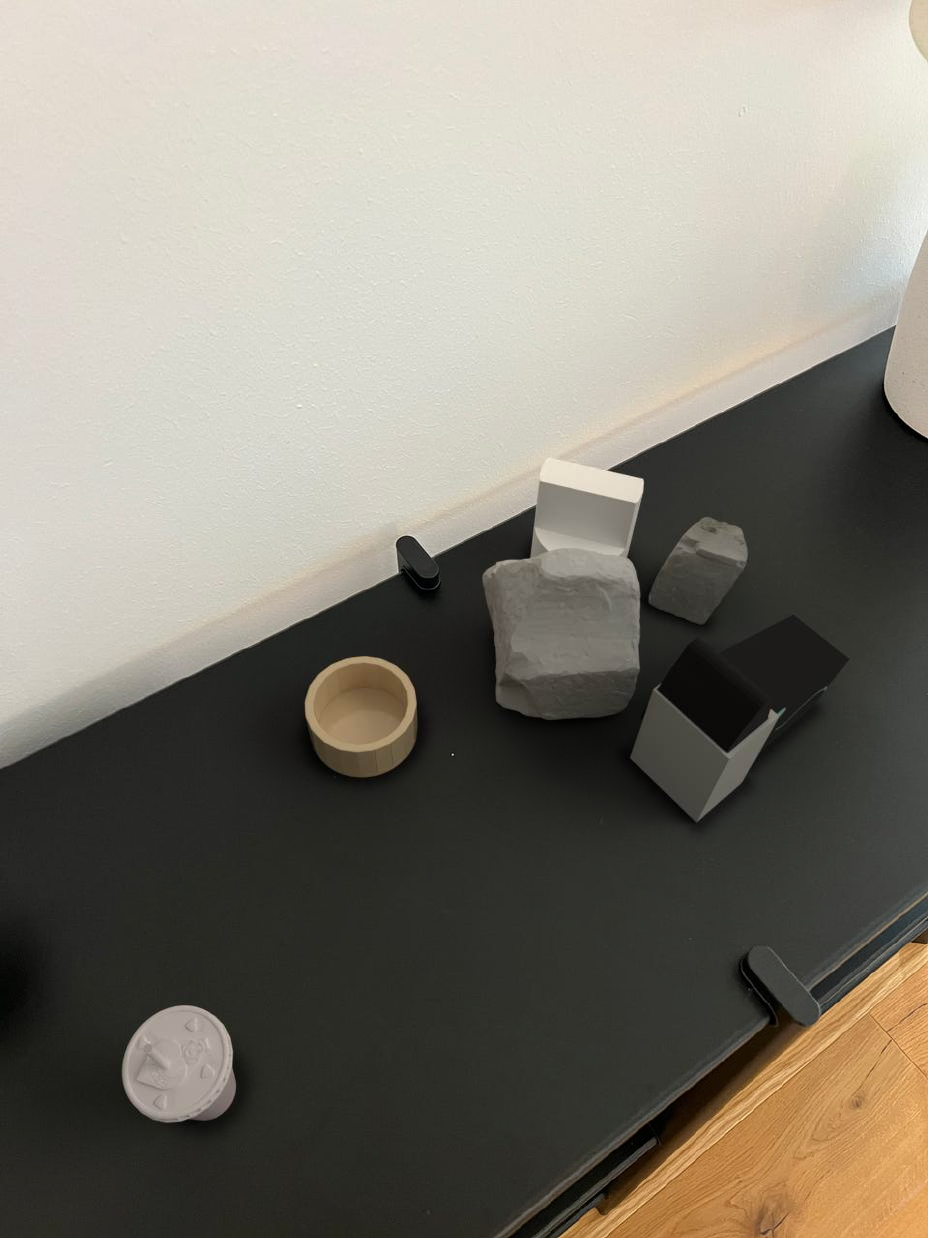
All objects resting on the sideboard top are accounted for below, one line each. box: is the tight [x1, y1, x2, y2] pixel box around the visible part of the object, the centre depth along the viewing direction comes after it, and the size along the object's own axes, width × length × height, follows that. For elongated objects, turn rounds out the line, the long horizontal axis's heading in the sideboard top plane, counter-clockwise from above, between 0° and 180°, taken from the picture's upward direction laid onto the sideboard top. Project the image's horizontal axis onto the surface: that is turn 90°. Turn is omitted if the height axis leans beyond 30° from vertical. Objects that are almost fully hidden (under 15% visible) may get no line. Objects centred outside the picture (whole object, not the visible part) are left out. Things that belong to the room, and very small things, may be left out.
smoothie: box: [121, 1004, 237, 1124], centre depth 59 cm, size 6×6×14 cm
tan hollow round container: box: [304, 655, 418, 778], centre depth 79 cm, size 9×9×4 cm
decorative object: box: [629, 614, 850, 823], centre depth 76 cm, size 8×18×15 cm, turn 130°
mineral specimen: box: [648, 516, 749, 625], centre depth 87 cm, size 7×9×8 cm
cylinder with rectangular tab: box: [529, 457, 645, 559], centre depth 87 cm, size 9×9×12 cm
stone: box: [481, 548, 641, 721], centre depth 79 cm, size 12×12×15 cm
